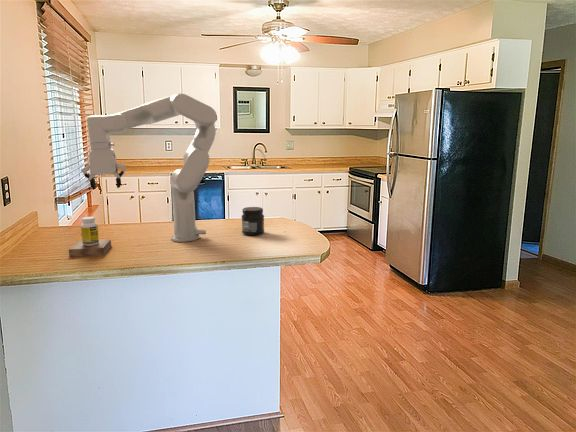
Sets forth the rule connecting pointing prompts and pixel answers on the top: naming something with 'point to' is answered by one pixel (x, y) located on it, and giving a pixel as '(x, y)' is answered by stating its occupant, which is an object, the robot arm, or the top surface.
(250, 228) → the supplement container
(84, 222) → the pill bottle
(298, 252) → the top surface
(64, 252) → the top surface
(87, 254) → the walnut base
